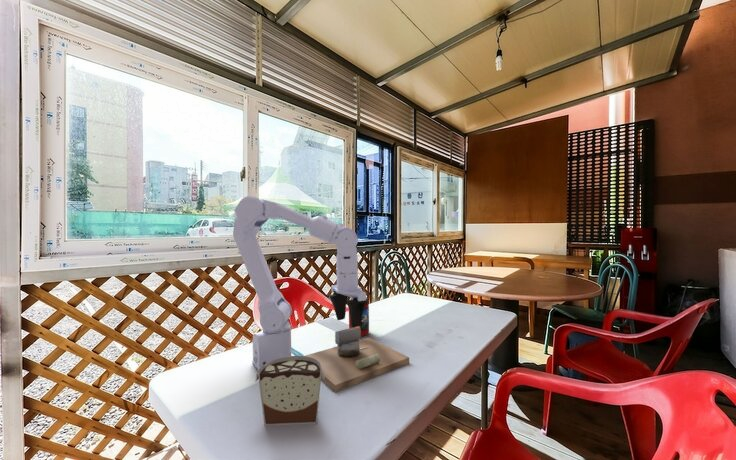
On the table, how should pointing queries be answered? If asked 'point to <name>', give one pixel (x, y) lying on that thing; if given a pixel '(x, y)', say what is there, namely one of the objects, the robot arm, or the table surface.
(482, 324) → the table surface
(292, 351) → the adjustable wrench
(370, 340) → the base
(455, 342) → the table surface
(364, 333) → the beverage can
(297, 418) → the food container
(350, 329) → the wing knob
